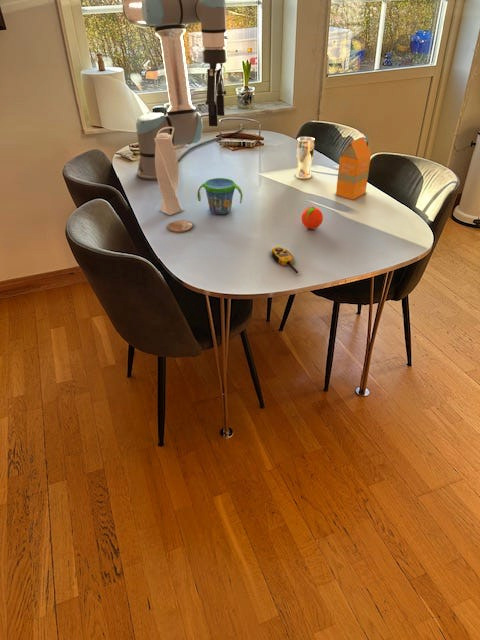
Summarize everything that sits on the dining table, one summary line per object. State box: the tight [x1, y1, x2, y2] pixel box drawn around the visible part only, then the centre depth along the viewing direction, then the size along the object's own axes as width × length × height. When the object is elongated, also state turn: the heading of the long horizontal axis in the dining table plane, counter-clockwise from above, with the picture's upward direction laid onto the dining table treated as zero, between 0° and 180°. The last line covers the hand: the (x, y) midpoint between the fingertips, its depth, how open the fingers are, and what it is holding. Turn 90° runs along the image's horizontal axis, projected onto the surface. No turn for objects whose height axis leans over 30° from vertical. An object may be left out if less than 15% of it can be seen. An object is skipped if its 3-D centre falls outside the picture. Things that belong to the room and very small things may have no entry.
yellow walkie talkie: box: [271, 246, 299, 274], centre depth 136 cm, size 5×2×15 cm
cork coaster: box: [167, 220, 193, 233], centre depth 157 cm, size 8×8×1 cm
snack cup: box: [197, 177, 243, 215], centre depth 165 cm, size 16×10×10 cm
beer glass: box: [295, 136, 315, 180], centre depth 191 cm, size 7×7×15 cm
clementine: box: [300, 206, 324, 230], centre depth 153 cm, size 8×7×7 cm
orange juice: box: [335, 136, 372, 200], centre depth 173 cm, size 8×9×20 cm
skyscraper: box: [154, 127, 183, 216], centre depth 160 cm, size 8×8×28 cm
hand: (217, 120), depth 159 cm, fingers open, 13 cm apart
